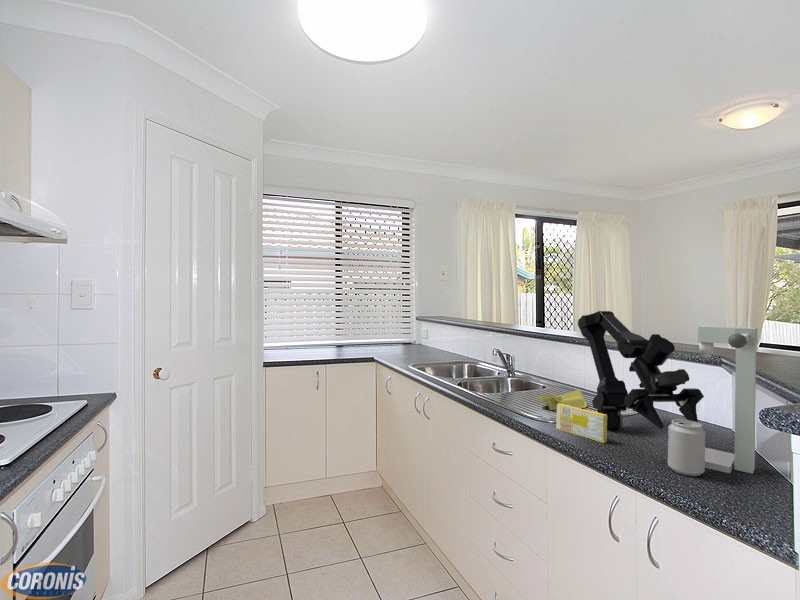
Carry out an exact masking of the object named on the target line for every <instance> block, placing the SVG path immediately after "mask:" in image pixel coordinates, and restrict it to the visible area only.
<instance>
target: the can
mask: <svg viewBox="0 0 800 600" xmlns="http://www.w3.org/2000/svg"><path fill="white" fill-rule="evenodd" d="M705 448H706V431H705V430H704V429H703V425H702V424H701V423H699V422H698V423H697V422H694V421H689V420H687V419H680V418H678V419H677V418H676V419H672V420H671V424H669V425H668V427H667V466H668V467H669V468H670V469H671V470H672V471H673V472H675V473H677V474H680V475H683V476H689V477H699V476H701V475H702V474H704V473H705V472H706V468H705Z"/></svg>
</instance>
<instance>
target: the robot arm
mask: <svg viewBox="0 0 800 600" xmlns="http://www.w3.org/2000/svg"><path fill="white" fill-rule="evenodd" d="M577 326H578V328H579V331H580V333H581V335H582V337H584V338H585V339H586V340H587V341H588V344H589V347H590V351H591V354H592V358H593V362H594V365H595V370H596V373H597V376H598V379H599V382H598V385H597V387H596V392H597V394H596V395H595V396H594V397H593V399H592V401H591V403H592V408H594V409H595V410H596V412H598V413H602V414H606V415H607V431H610V432H614V433H617V432H619V431H621V430H622V429H623V428H624V426H623V425H624V415H623V414H622V411H625V412H626V411H627V409H629V410H630V409H631V410H632V411H633V412H636V413H638V414H639V415H640V416H642V417H644V418H646V420H648V421H649V422H650V423H651V424H653V425H654V426H656V427H657V428H658V429H659V430H663V429H664V428H665V427H664V425H663V422H662V420H661V418H660V416H659V414H658V412H657V410H656V409H655V406H654V403H665V402H666V403H670V402H671V403H672V402H673V403H675V404H676V406H677V407H679V408H678V411H679V412H680V413H681V414H682V415H683V417H684V418H685V420H689V421H694V422H697V423H699V420H698V414H697V404H698V403H699V402H701V400H703V398H704V397H705V396H704V394H703V393H702V391H701V389H699V388H691V387H690V388H682V390H681V391H679V393H674V392H676V391H677V390H678V386H680V385H686V382H689V381H690V375H689V374H688V372H687V371H686V370H685V369H683V368H678V369H676V370H670V371H669V370H667V371H661V369H660V367H659V366H663V365H664V364H665V362H667V360H668V359H669V358H670V357H671V355H672V354H673V353H674V352H675V350H676V348H675V345H674V343H673V342H671V341H670V340H669V339H667V338H664V337H662V336H661V335H660V334H658V333H656V334H655V333H654V334H651V335H650V337H649V339H646V337H643V336H642V335H640V334H636V333H633V332H632V331H631V330H630V329H629V328H627V327H626V325H624V324H623V323H622V322H621V321H620V320H619V319H618V318H617V317H616V316H615V313H614V312H612V311H611V310H597V311H596V312H594V313H590V314H584V315H581V317H580V318H579V319H578V321H577ZM606 332H607V333H608V334H609V335H610V336H611V337H612V338H613V340H614V341H615V342H616V343H617V348H616V349H617V350H618V352H619V353H620V355H621V356H622V357H623V358H624V359H634V360H633V361H631V362H630V366H629V367H628V369H629V370H628V371H629V372H630V373H631V372H632V373H633V372H635V374H636V376H637V378H638V379H639V381H640V383H639V384H638V386H639V387H640V388H632V389H631V390H630V391H628V390H627V387H626V382H625V381H624V380H619V379H618V378H617V377H616V375H615V370H614V368H613V364H612V360H611V357H610V354H609V351H608V347H607V343H606V339H605V335H606Z"/></svg>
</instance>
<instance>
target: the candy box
mask: <svg viewBox="0 0 800 600" xmlns="http://www.w3.org/2000/svg"><path fill="white" fill-rule="evenodd" d="M555 422H556V423H555V429H556V430H559V431H562V432H566V433H568V432H569V434H572V435H576V436H579V437H582V438H584V437H585V439H588V438H589V440H591V439H592V441H594V440H595V442H598V443H601V444H605V443H607V440H608V439H607V435H608V434H607V433H608V430H607V415H606V414H602V413H598V412H597V411H592V410H589V409H586V408H583V409H581V408H577V407H573V406H569V405H565V404H561V403H559V404H557V409H556V421H555Z"/></svg>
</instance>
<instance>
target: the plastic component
mask: <svg viewBox="0 0 800 600" xmlns="http://www.w3.org/2000/svg"><path fill="white" fill-rule="evenodd" d="M537 400H538V401H539V402H541V403H544V402H546V405H547V406H548V409H549V411H552V410H557V404H559V403H561V404H565V405H569V406H573V407H577V408H581V409H582V408H583V409H586V408H585V407H587V408H588V402H587V400H586V398H585V397H584V394H583V392H582V391H581V390H580V389H579V390H577V389H576V390H573V391H570V392H566V393H564V394H560V395H556V394H554V393H553V392H548V393H545V394H543V395H540V396H537Z"/></svg>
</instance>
